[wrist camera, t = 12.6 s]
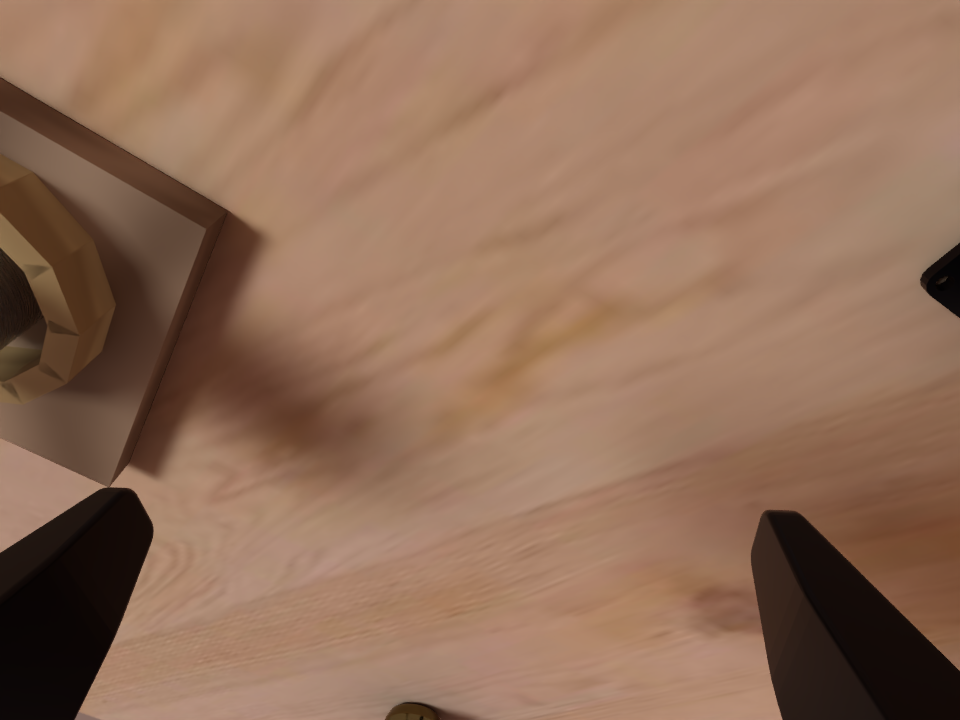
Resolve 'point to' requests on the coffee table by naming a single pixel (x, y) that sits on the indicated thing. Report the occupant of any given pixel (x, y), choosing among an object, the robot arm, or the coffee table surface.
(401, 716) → the cup
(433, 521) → the coffee table surface
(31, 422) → the ring seat
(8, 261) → the silver metal cylinder
